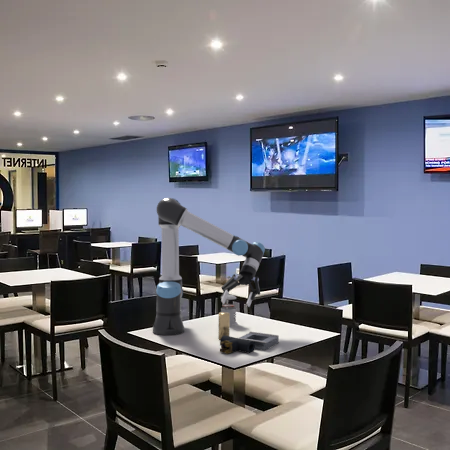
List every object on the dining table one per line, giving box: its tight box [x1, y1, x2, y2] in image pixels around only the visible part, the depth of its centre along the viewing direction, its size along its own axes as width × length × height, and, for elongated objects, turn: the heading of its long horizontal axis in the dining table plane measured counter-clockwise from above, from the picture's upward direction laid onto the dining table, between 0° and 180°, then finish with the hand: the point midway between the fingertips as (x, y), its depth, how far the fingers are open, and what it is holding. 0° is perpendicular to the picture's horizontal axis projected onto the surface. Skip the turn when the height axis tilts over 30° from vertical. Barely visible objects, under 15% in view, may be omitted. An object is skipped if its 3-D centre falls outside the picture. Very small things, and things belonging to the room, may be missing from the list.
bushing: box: [217, 311, 230, 341], centre depth 234 cm, size 5×5×12 cm
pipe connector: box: [219, 335, 256, 355], centre depth 215 cm, size 12×5×15 cm
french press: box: [220, 275, 238, 327], centre depth 266 cm, size 10×12×25 cm
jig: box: [238, 331, 279, 351], centre depth 226 cm, size 14×14×3 cm
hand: (235, 303), depth 242 cm, fingers open, 13 cm apart
